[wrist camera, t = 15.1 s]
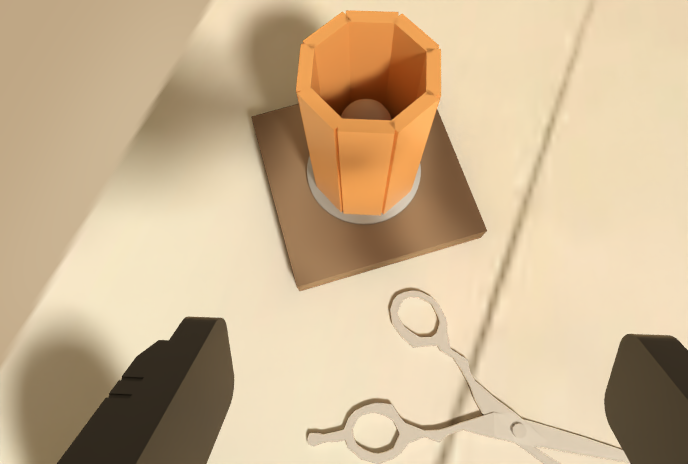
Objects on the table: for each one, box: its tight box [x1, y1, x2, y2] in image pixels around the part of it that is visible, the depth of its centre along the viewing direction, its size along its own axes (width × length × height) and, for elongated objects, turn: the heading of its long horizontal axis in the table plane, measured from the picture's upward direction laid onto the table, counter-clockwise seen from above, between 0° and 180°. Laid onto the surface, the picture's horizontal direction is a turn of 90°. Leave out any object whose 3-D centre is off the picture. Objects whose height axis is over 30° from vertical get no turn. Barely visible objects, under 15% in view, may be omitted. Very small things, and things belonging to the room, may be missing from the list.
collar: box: [296, 11, 441, 216], centre depth 24 cm, size 6×6×10 cm
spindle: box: [252, 99, 487, 291], centre depth 26 cm, size 12×12×8 cm
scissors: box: [307, 290, 630, 464], centre depth 26 cm, size 11×1×20 cm
